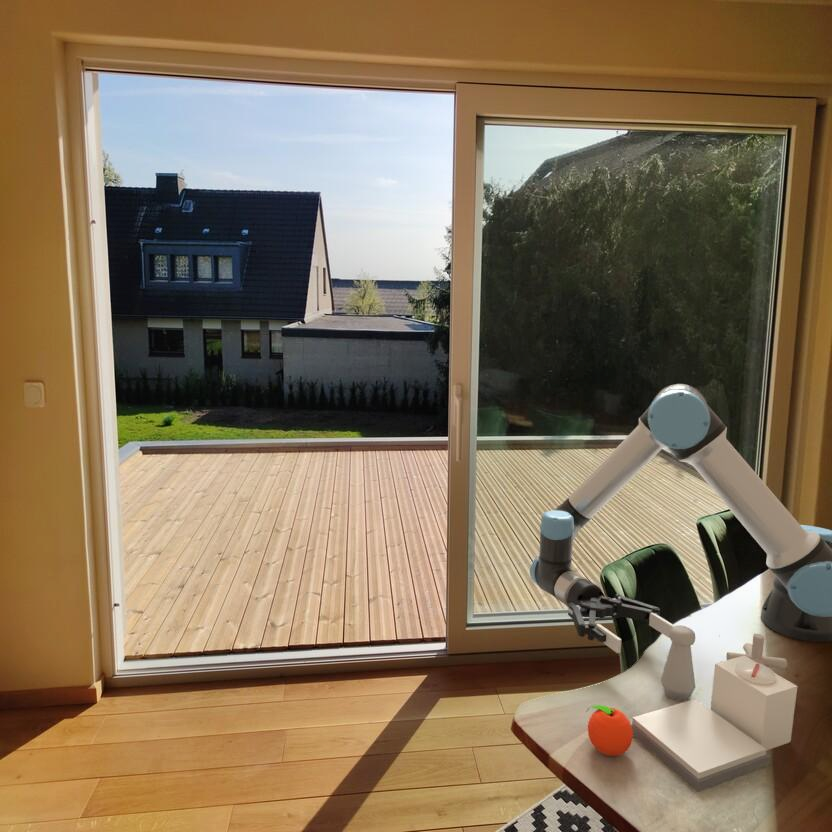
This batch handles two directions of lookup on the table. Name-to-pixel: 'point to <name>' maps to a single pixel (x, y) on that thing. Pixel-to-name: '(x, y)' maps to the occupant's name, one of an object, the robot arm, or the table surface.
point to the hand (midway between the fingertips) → (647, 639)
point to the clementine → (610, 731)
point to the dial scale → (723, 725)
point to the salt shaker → (679, 665)
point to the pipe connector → (759, 654)
